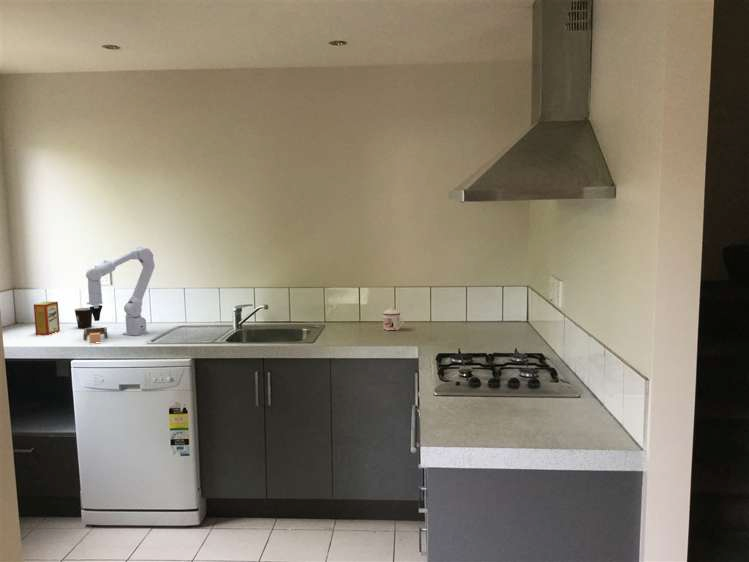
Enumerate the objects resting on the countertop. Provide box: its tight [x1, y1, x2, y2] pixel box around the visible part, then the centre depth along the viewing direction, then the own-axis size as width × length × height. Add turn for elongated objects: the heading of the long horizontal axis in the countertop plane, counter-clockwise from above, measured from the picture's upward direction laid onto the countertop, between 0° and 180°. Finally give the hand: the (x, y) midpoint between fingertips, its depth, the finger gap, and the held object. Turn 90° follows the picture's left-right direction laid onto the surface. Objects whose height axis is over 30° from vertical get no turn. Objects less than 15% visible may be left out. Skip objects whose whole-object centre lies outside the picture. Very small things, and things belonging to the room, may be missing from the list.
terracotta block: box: [89, 333, 101, 344], centre depth 286 cm, size 4×4×4 cm
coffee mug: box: [74, 307, 93, 330], centre depth 321 cm, size 12×9×10 cm
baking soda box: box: [33, 301, 61, 336], centre depth 308 cm, size 10×6×16 cm
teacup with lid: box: [382, 306, 405, 331], centre depth 310 cm, size 12×9×12 cm
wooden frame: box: [82, 327, 108, 341], centre depth 300 cm, size 14×10×3 cm
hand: (97, 320), depth 295 cm, fingers closed
